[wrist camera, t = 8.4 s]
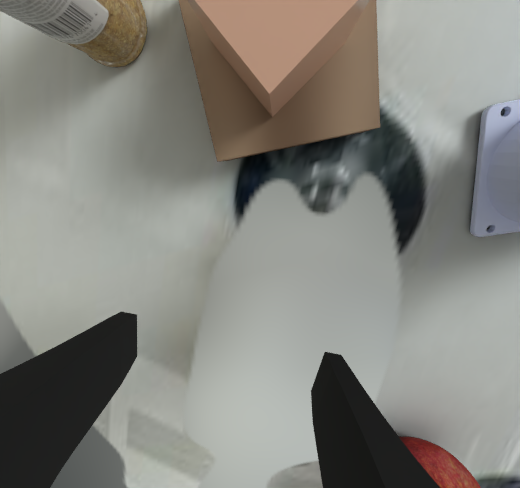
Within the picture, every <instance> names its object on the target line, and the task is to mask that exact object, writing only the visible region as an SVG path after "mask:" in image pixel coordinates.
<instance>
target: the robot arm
mask: <svg viewBox="0 0 520 488" xmlns="http://www.w3.org/2000/svg"><path fill="white" fill-rule="evenodd" d="M503 108H504V110H505V113H504V115H503V116H501V113H500V112H501V110H502V109H503ZM488 226H490V229H489V230H487V231H486V229H487V227H488ZM470 232H471V234H472V235H474V236H477V237H485V236H492V235H499V234H506V233H513V232H520V99H518V100H513V101H508V102H503V103H499V104H494V105H491V106H488V107H487V108H486V109H485V110H484V111H483V113H482V116H481V125H480V135H479V146H478V156H477V166H476V176H475V186H474V196H473V207H472V217H471V227H470ZM136 357H137V315H136V314H131V313H125V312H120V313H118V314H116V315H114V316H112V317H110V318H108V319H106V320H104V321H103V322H101V323H99V324H97V325H95V326H93V327H92V328H90V329H88V330H86V331H84V332H82V333H81V334H79V335H77V336H75V337H73V338H71V339H69V340H67V341H66V342H64V343H62V344H60V345H58V346H56V347H54V348H52V349H50V350H48V351H46V352H44V353H42V354H40V355H38V356H36V357H34V358H33V359H30V360H28V361H26V362H24V363H22V364H20V365H18V366H16V367H14V368H12V369H10V370H8V371H6V372H4V373H2V374H0V488H50V487H51V485H52V484H53V482H54V480H55V479H56V477H57V475H58V474H59V472H60V471H61V469H62V467H63V466H64V464H65V463H66V461H67V460H68V459H69V457H70V456H71V454H72V453H73V451H74V450H75V448H76V447H77V446H78V444H79V443H80V441H81V440H82V439H83V437H84V436H85V435H86V433H87V432H88V430H89V429H90V428H91V426H92V425H93V423H94V422H95V421H96V419H97V418H98V416H99V415H100V414H101V412H102V411H103V409H104V408H105V407H106V405H107V404H108V402H109V401H110V400H111V398H112V397H113V395H114V394H115V392H116V391H117V390H118V388H119V387H120V385H121V384H122V382H123V380H124V379H125V377H126V375H127V373H128V372H129V370H130V368H131V366H132V364H133V363H134V361H135V359H136ZM311 396H312V416H313V426H314V432H315V439H316V446H317V452H318V459H319V465H320V471H321V478H322V484H323V488H440V487H439V485H438V484H437V483H436V482H435V481H434V480H433V478H432V477H431V476H430V475H429V474H428V473H427V471H426V470H425V469H424V468H423V467H422V465H421V464H420V463H419V462H418V461H417V459H416V458H415V457H414V456H413V454H412V453H411V452H410V451H409V449H408V448H407V447H406V445H405V444H404V443H403V442H402V440H401V439H400V438H399V436H398V435H397V434H396V433H395V431H394V430H393V429H392V427H391V426H390V425H389V423H388V422H387V421H386V419H385V418H384V417H383V415H382V414H381V412H380V411H379V410H378V408H377V407H376V405H375V404H374V403H373V401H372V400H371V398H370V397H369V395H368V394H367V393H366V391H365V390H364V388H363V387H362V385H361V384H360V383H359V381H358V379H357V378H356V377H355V375H354V373H353V372H352V371H351V369H350V367H349V366H348V364H347V363H346V362H345V360H344V359H343V357H342V356H341V355H338V354H333V353H328V352H325V353H324V356H323V359H322V362H321V365H320V367H319V370H318V373H317V376H316V379H315V382H314V384H313V387H312V390H311Z"/></svg>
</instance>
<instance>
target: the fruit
mask: <svg viewBox="0 0 520 488" xmlns="http://www.w3.org/2000/svg"><path fill="white" fill-rule="evenodd" d="M399 438H400V439H401V440H402V442H403V443H404V444H405V445H406V447H407V448H408V449H409V451H410V452H411V453H412V454H413V456H414V457H415V458H416V459H417V461H418V462H419V463H420V464H421V465H422V467H423V468H424V469H425V470H426V471H427V473H428V474H429V475H430V476H431V477H432V478H433V480H434V481H435V482H436V483H437V484H438V485H439V487H440V488H481V487H480V486H479V484H478V482H477V481H476V480H475V478H474V477H473V476H472V474H471V473H470V472H469V471H468V470H467V469H466V468H465V466H464V465H463V464H461V463H460V462H459V461H458V460H457V459H456V458H455V457H454V456H453V455H452V454H450V453H449V452H447V451H446V450H444V449H443V448H441V447H439V446H438V445H435V444H433V443H431V442H428V441H426V440H423V439H420V438H414V437H399Z"/></svg>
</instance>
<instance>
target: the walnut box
mask: <svg viewBox="0 0 520 488" xmlns="http://www.w3.org/2000/svg"><path fill="white" fill-rule="evenodd" d="M179 4H180V8H181V12H182V16H183V21H184V25H185V29H186V33H187V37H188V41H189V46H190V50H191V54H192V58H193V62H194V66H195V71H196V75H197V79H198V83H199V87H200V91H201V96H202V100H203V104H204V108H205V112H206V116H207V121H208V125H209V129H210V133H211V137H212V141H213V146H214V150H215V154H216V158H217V162H220V161H228V160H233V159H238V158H243V157H247V156H252V155H257V154H262V153H266V152H271V151H276V150H281V149H285V148H290V147H295V146H299V145H304V144H309V143H314V142H318V141H323V140H328V139H333V138H337V137H342V136H347V135H352V134H356V133H361V132H365V131H369V130H372V129H376V128H379V127H380V110H379V78H378V45H377V13H376V0H369V2H368V4H367V6H366V7H365V9H364V11H363V13H362V14H361V16H360V18H359V19H358V21H357V23H356V25H355V26H354V28H353V30H352V31H351V33H350V35H349V37H348V38H347V40H346V42H345V44H344V45H343V46H342V47H341V48H340V49H339V50H338V51H337V52H336V53H335V54H334V55H333V56H332V57H331V58H330V59H329V60H328V61H327V62H326V63H325V64H324V65H323V66H322V67H321V68H320V69H319V70H318V71H317V72H316V73H315V75H314V76H313V77H312V78H311V79H310V80H309V81H308V82H307V83H306V84H305V85H304V86H303V87H302V88H301V89H300V90H299V91H298V92H297V93H296V94H295V95H294V96H293V97H292V98H291V99H290V100H289V101H288V102H287V103H286V104H285V105H284V106H283V107H282V108H281V109H280V110H279V111H278V112H277V113H276V114H275V115H274V116H273V117H272V116H271V115H270V113H269V112H268V111H267V110H266V109H265V107H264V106H263V105H262V104H261V102H260V101H259V100H258V99H257V97H256V96H255V95H254V94H253V93H252V91H251V90H250V89H249V88H248V86H247V85H246V84H245V83H244V81H243V80H242V79H241V78H240V76H239V75H238V74H237V73H236V72H235V70H234V69H233V68H232V67H231V65H230V64H229V63H228V62H227V60H226V59H225V58H224V57H223V56H222V54H221V53H220V52H219V51H218V49H217V48H216V47H215V46H214V44H213V43H212V42H211V40H210V39H209V37H208V35H207V33H206V32H205V30H204V28H203V26H202V25H201V23H200V21H199V20H198V18H197V16H196V14H195V13H194V11H193V9H192V7H191V6H190V4H189V2H188V0H179Z"/></svg>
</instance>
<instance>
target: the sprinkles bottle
mask: <svg viewBox="0 0 520 488" xmlns="http://www.w3.org/2000/svg"><path fill="white" fill-rule="evenodd" d="M0 11H2V12H4V13H6V14H7V15H9V16H11V17H13V18H15V19H17V20H19V21H21V22H23V23H25V24H27V25H29V26H31V27H33V28H35V29H37V30H39V31H41V32H43V33H45V34H47V35H49V36H51V37H53V38H55V39H57V40H59V41H61V42H65V43H68V44H69V45H71V46H73V47H75V48H77V49H79V50H81V51H83V52H85V53H87V54H88V55H89V56H90V57H91V58H92V59H94V60H95V61H97V62H99V63H101V64H103V65H106V66H109V67H120V66H125V65H127V64H129V63H131V62H132V61H134V60H135V59H136V58H137V57H138V55H139V54H140V52H141V51H142V48H143V45H144V42H145V39H146V34H147V25H146V17H145V12H144V10H143V7H142V4H141V1H140V0H0Z"/></svg>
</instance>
